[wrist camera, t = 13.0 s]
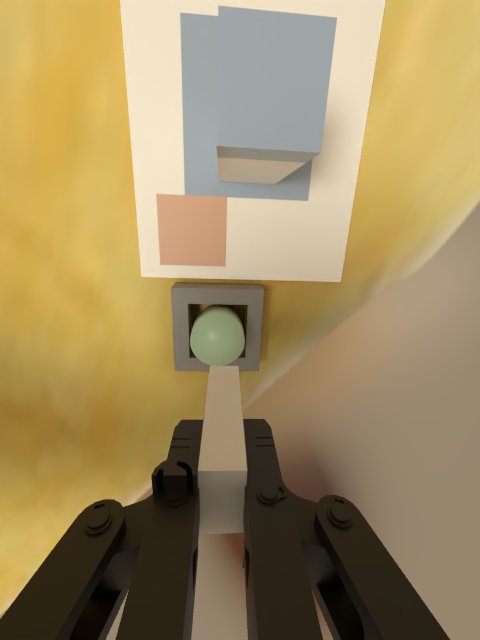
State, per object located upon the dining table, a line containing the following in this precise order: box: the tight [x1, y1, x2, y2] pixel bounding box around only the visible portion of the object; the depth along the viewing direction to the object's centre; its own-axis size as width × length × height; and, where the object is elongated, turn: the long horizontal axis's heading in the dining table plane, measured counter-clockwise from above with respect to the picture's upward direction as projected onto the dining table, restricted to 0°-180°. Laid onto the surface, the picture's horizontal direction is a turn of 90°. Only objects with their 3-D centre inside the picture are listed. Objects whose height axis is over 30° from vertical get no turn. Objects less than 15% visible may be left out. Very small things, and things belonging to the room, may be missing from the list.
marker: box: [216, 6, 337, 184], centre depth 15 cm, size 4×4×10 cm
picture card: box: [120, 0, 386, 282], centre depth 20 cm, size 16×18×1 cm
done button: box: [190, 305, 245, 366], centre depth 22 cm, size 4×4×3 cm
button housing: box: [171, 282, 264, 371], centre depth 23 cm, size 7×7×2 cm
